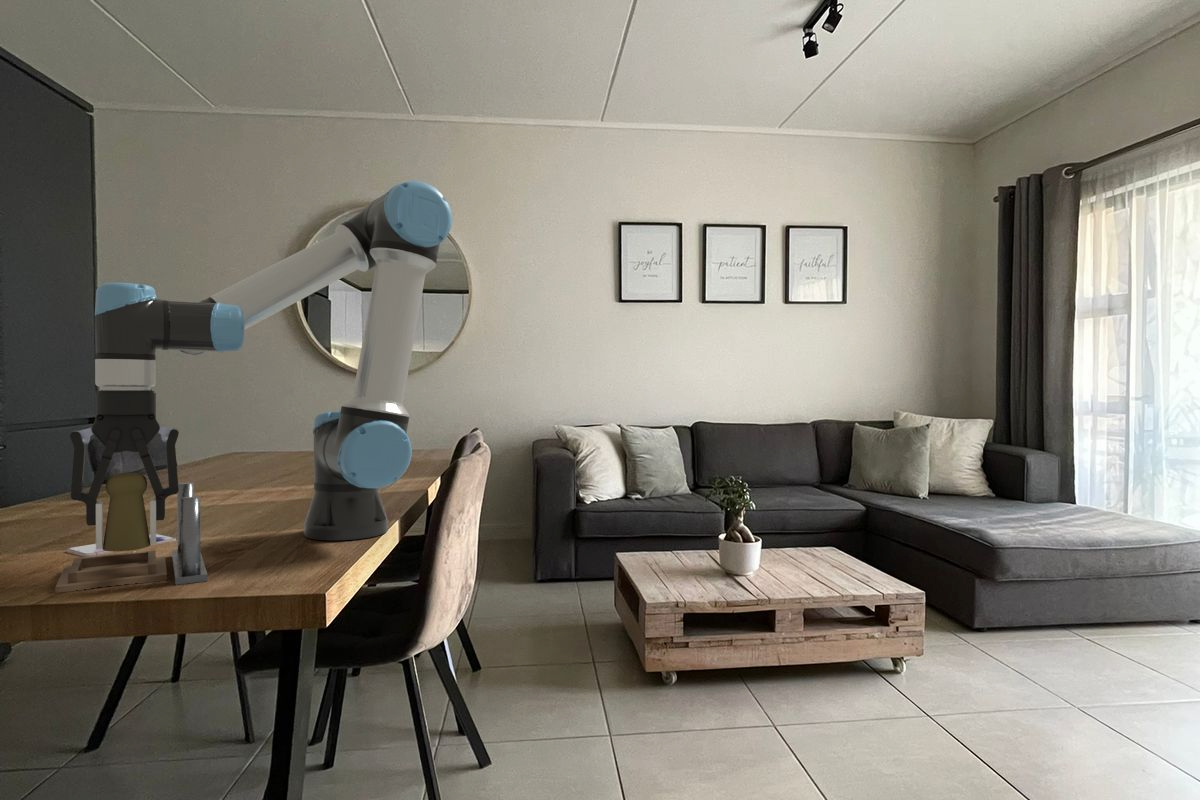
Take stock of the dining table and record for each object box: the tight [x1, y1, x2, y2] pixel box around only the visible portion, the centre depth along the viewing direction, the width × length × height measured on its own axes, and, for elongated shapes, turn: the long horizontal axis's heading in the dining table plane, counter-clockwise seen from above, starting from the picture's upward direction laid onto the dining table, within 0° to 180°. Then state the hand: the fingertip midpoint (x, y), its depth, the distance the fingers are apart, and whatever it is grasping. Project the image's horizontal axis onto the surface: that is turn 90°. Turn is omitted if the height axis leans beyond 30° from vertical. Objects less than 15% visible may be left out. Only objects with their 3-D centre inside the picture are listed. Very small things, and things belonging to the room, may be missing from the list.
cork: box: [103, 471, 152, 552], centre depth 109 cm, size 6×6×11 cm
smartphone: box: [66, 533, 177, 557], centre depth 129 cm, size 7×1×15 cm
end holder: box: [54, 549, 168, 594], centre depth 109 cm, size 13×13×2 cm
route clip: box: [171, 482, 209, 586], centre depth 113 cm, size 4×20×12 cm, turn 32°
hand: (126, 544), depth 109 cm, fingers closed on cork, 6 cm apart
